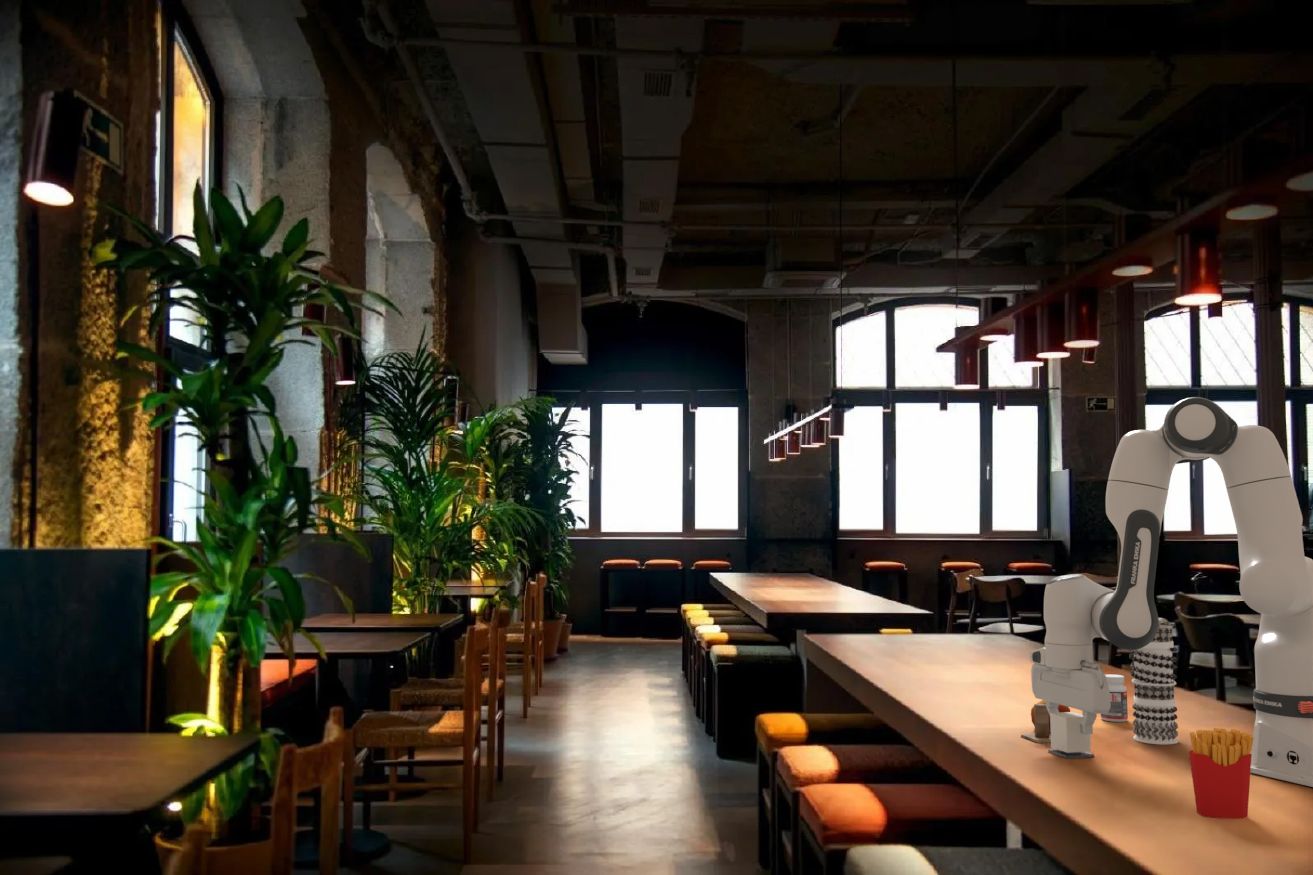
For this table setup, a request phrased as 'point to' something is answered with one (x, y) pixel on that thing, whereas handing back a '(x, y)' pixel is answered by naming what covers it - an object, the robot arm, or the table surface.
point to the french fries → (1221, 772)
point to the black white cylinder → (1155, 689)
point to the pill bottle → (1116, 699)
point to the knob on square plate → (1040, 725)
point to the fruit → (1060, 708)
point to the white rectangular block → (1068, 732)
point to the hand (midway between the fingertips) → (1071, 729)
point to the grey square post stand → (1070, 754)
